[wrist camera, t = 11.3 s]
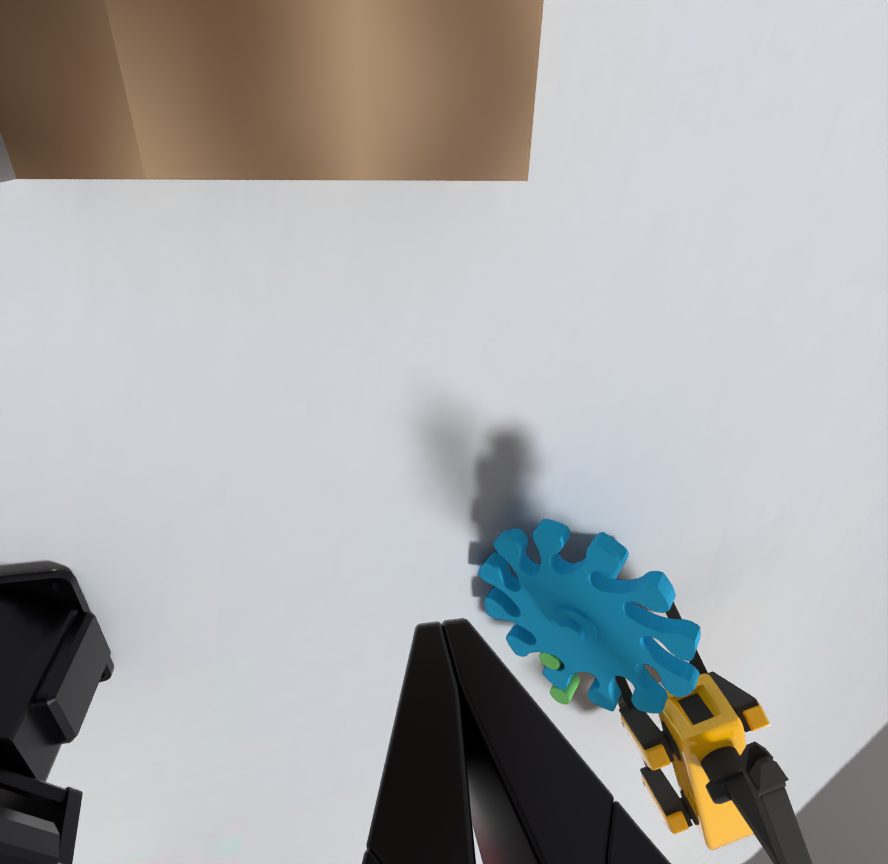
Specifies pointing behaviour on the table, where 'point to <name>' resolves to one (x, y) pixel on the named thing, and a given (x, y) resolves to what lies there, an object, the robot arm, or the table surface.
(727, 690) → the robot dog
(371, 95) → the jig
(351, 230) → the table surface
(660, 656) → the gear
